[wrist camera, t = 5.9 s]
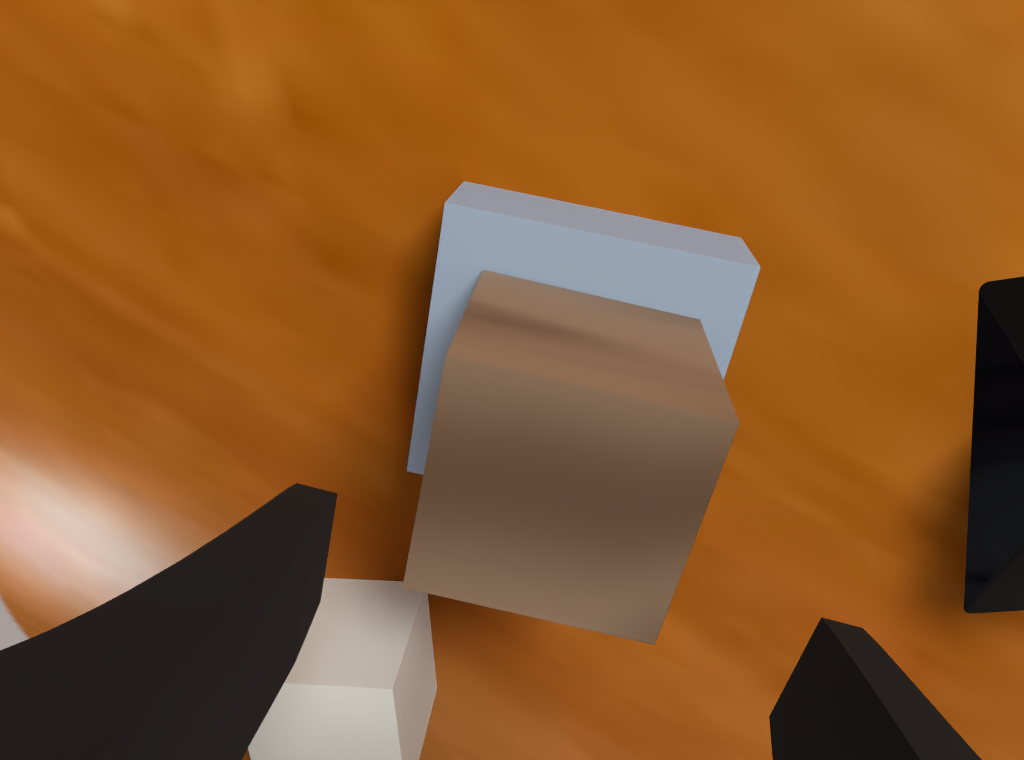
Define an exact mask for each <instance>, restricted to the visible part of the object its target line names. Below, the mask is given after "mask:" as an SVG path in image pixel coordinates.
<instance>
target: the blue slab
mask: <svg viewBox="0 0 1024 760" xmlns="http://www.w3.org/2000/svg"><path fill="white" fill-rule="evenodd" d="M760 268H761V267H760V265H759V264H758V262H757V261H756V259H755V258H754V256H753V255H752V253H751V252H750V250H749V249H748V247H747V246H746V244H745V243H744V241H743V240H742V238H740V237H735V236H730V235H725V234H720V233H715V232H710V231H705V230H701V229H696V228H691V227H686V226H681V225H676V224H671V223H666V222H661V221H656V220H652V219H647V218H642V217H637V216H632V215H627V214H622V213H617V212H612V211H608V210H603V209H598V208H593V207H588V206H583V205H578V204H573V203H568V202H564V201H559V200H554V199H549V198H544V197H539V196H534V195H529V194H524V193H520V192H515V191H510V190H505V189H500V188H495V187H490V186H485V185H480V184H476V183H471V182H466V181H464V182H463V183H462V184H461V185H460V186H459V187H458V188H457V190H456V191H455V192H454V193H453V194H452V195H451V196H450V197H449V198H448V200H447V201H446V202H445V205H444V212H443V219H442V226H441V233H440V240H439V247H438V254H437V262H436V269H435V276H434V283H433V290H432V297H431V304H430V311H429V318H428V325H427V332H426V339H425V346H424V353H423V360H422V367H421V374H420V381H419V388H418V395H417V402H416V409H415V416H414V423H413V430H412V437H411V444H410V451H409V458H408V465H407V471H408V472H413V473H417V474H422V475H423V474H424V469H425V464H426V458H427V453H428V448H429V442H430V437H431V432H432V426H433V421H434V416H435V410H436V405H437V400H438V394H439V389H440V384H441V378H442V373H443V368H444V362H445V357H446V354H447V352H448V349H449V347H450V345H451V342H452V340H453V338H454V335H455V333H456V331H457V328H458V326H459V324H460V322H461V319H462V317H463V315H464V312H465V310H466V308H467V305H468V303H469V301H470V299H471V296H472V294H473V292H474V289H475V287H476V285H477V282H478V280H479V278H480V276H481V273H482V271H483V270H486V271H490V272H495V273H499V274H504V275H508V276H512V277H517V278H521V279H525V280H530V281H534V282H538V283H543V284H547V285H552V286H556V287H560V288H565V289H569V290H573V291H578V292H582V293H586V294H591V295H595V296H600V297H604V298H608V299H613V300H617V301H621V302H626V303H630V304H634V305H639V306H643V307H648V308H652V309H656V310H661V311H665V312H669V313H674V314H678V315H682V316H687V317H691V318H696V319H700V321H701V323H702V326H703V329H704V331H705V334H706V336H707V339H708V342H709V344H710V347H711V350H712V352H713V355H714V357H715V360H716V363H717V365H718V368H719V371H720V373H721V376H722V378H723V380H724V377H725V374H726V371H727V368H728V365H729V362H730V359H731V356H732V353H733V350H734V346H735V343H736V340H737V337H738V334H739V331H740V328H741V325H742V322H743V319H744V316H745V313H746V310H747V307H748V304H749V301H750V298H751V295H752V292H753V289H754V286H755V283H756V280H757V277H758V274H759V271H760Z"/></svg>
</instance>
